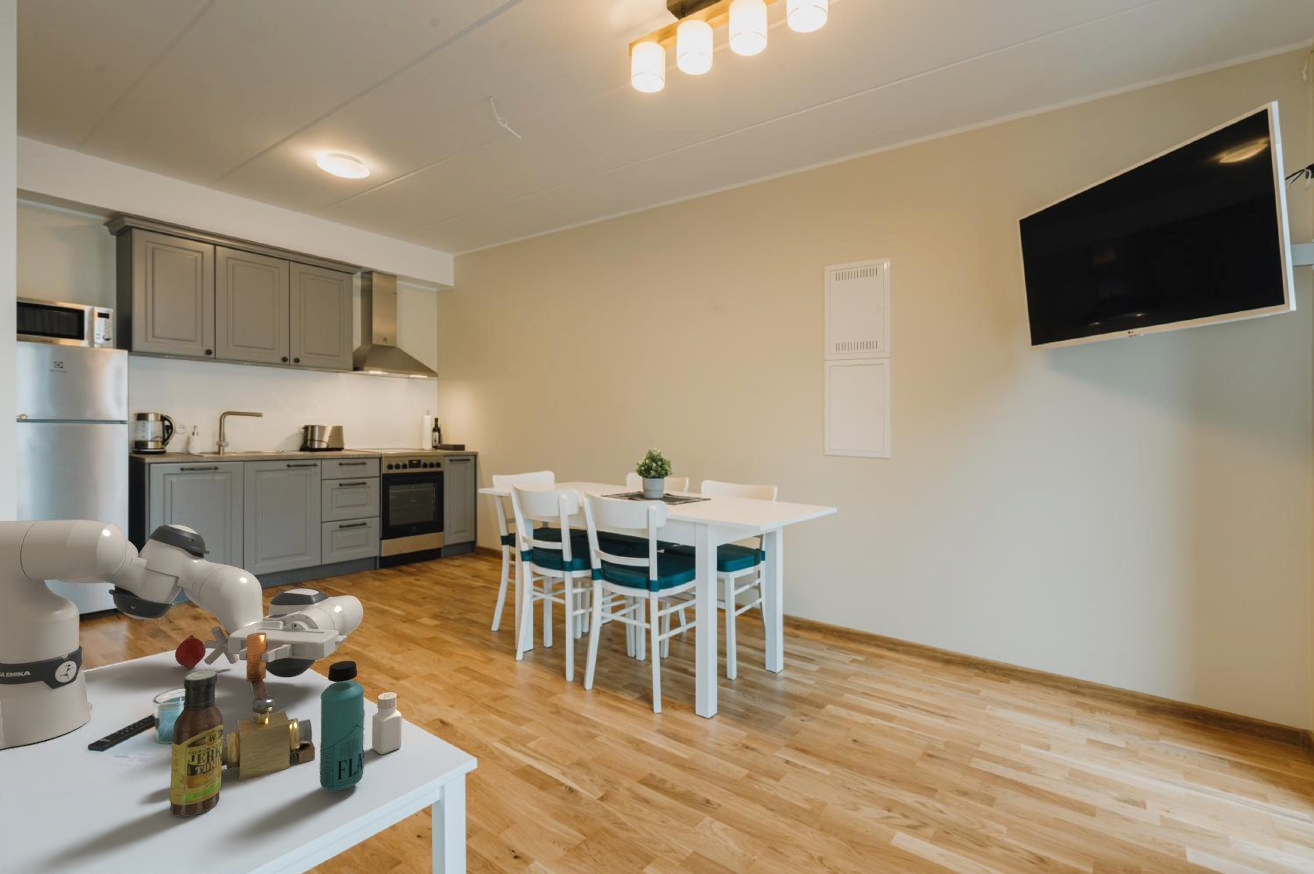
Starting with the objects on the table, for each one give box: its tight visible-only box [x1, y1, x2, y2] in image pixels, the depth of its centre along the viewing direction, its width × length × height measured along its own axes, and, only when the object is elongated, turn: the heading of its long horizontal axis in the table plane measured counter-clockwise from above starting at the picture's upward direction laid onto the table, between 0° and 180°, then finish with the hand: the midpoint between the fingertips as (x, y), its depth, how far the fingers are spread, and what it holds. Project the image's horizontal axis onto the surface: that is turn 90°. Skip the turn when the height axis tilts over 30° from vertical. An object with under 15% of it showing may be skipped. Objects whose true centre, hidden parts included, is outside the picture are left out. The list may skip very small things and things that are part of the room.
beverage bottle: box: [318, 660, 366, 791], centre depth 101 cm, size 6×7×20 cm
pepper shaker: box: [371, 691, 403, 755], centre depth 114 cm, size 4×4×10 cm
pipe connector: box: [203, 625, 240, 666], centre depth 147 cm, size 10×10×10 cm
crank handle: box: [246, 633, 276, 714], centre depth 112 cm, size 15×3×9 cm, turn 37°
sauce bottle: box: [169, 670, 224, 817], centre depth 96 cm, size 6×6×20 cm
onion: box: [174, 634, 207, 670], centre depth 149 cm, size 6×6×8 cm
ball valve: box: [222, 710, 316, 782], centre depth 106 cm, size 18×6×10 cm, turn 128°
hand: (253, 657), depth 116 cm, fingers open, 3 cm apart
